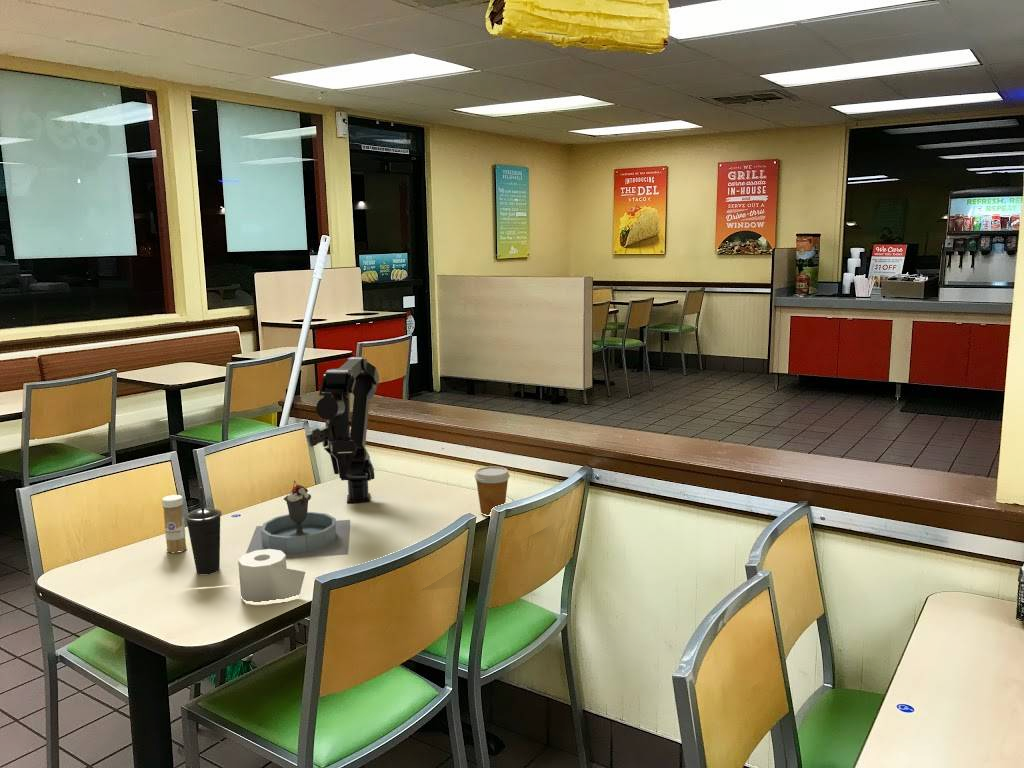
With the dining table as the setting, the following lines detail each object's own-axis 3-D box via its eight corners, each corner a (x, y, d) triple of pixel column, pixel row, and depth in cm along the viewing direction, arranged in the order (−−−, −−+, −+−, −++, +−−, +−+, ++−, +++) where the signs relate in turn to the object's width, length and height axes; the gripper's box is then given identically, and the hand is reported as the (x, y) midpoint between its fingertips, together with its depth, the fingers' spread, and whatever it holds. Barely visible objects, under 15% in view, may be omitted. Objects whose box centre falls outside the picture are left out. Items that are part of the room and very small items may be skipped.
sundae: (292, 543, 194) (288, 484, 191) (281, 535, 199) (278, 477, 196) (317, 537, 198) (314, 478, 195) (307, 529, 203) (303, 472, 200)
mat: (256, 527, 208) (256, 526, 208) (350, 521, 212) (350, 519, 212) (242, 564, 185) (242, 562, 185) (348, 555, 189) (347, 554, 189)
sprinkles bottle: (165, 555, 191) (160, 501, 188) (167, 548, 195) (162, 495, 193) (186, 552, 192) (181, 499, 190) (188, 545, 196) (183, 493, 194)
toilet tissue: (307, 600, 166) (304, 561, 164) (240, 608, 163) (236, 568, 161) (306, 582, 175) (303, 545, 173) (242, 590, 171) (239, 552, 170)
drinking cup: (217, 562, 186) (210, 479, 182) (232, 571, 181) (225, 486, 177) (184, 572, 181) (176, 487, 177) (198, 581, 175) (191, 494, 172)
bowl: (267, 529, 205) (266, 514, 205) (337, 524, 208) (336, 510, 208) (258, 555, 188) (257, 539, 188) (334, 550, 191) (333, 534, 191)
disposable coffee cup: (517, 512, 217) (516, 470, 215) (492, 522, 210) (492, 478, 208) (492, 505, 223) (491, 463, 221) (467, 514, 216) (466, 471, 214)
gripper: (303, 416, 216) (303, 473, 216) (312, 420, 199) (312, 482, 199) (344, 415, 220) (345, 471, 220) (357, 419, 203) (357, 480, 203)
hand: (339, 476), depth 211 cm, fingers open, 9 cm apart
